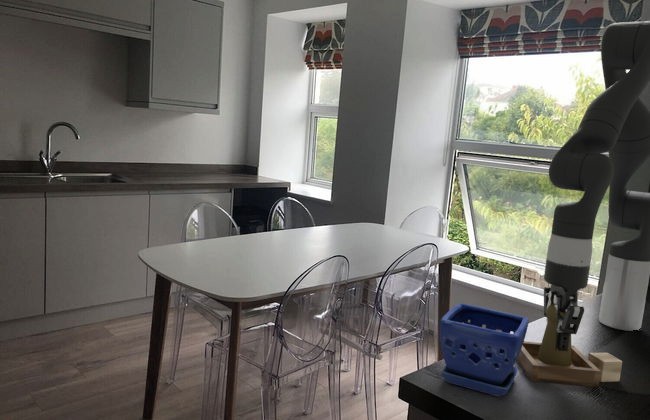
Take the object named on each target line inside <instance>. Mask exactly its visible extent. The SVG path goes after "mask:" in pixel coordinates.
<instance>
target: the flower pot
mask: <svg viewBox="0 0 650 420" xmlns="http://www.w3.org/2000/svg"><path fill="white" fill-rule="evenodd" d="M529 322H530V321H529V318H528V317H526V316H523V315H518V314H514V313H510V312H505V311H500V310H496V309H492V308H488V307H483V306H478V305H473V304H468V303H457V304H456V305H455V306H453V307H452V308H451V309H449V311H448V312H447V313H445V314H444V315H443V316H442V318H441V319H440V323H439V339H440V340H439V341H440V348H441V349H440V350H441V352H442V357H443V360H444V363H445V365H444V367H443V368H442V370H441V372H440V373H441V377H442V378H443V379H444V380H445V381H446V382H447V383H450V384H453V385H457V386H460V387H464V388H467V389H470V390H474V391H477V392H482V393H484V394H489V395H491V396H494V397H502V396H504V395H506V394H507V393H508V392H509V390H510V388H511V386H512V384H513V383H514V380H515V378H516V376H517V374H518V370H519V368H518V367H517V366H515V365H516V363H517V361H516V360H517V358H518V356H519V354H520V351H521V348H522V345H523V342H524V341H525V339H526V334H527V332H528V331H527V330H528V329H529V328H528V327H529ZM483 326H485V327H483ZM511 332H512V333H511Z"/></svg>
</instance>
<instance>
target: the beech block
mask: <svg viewBox="0 0 650 420" xmlns="http://www.w3.org/2000/svg"><path fill="white" fill-rule="evenodd" d="M587 359H588V360H589V361H590V362H591V363H593V364H594V365H595V366H596V367H597V368H598V369H599V370H600V371H601V374H600V380H599V383H600V382H602V383H605V382H620V380H621V373H622V368H623V367H622V365H623V361H622V360H621V359H620V358H617V357H616V356H614V355H612V354H610V353H609V352H588V358H587Z"/></svg>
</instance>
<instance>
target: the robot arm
mask: <svg viewBox="0 0 650 420" xmlns="http://www.w3.org/2000/svg"><path fill="white" fill-rule="evenodd" d="M600 57H601V66H602V73H603V80H604V88H605V89H604V91H602V92H601V93H599V94H598V95H597V96H596V97H595V98H594V99H593V100H592V101H591V103H590V104H589V105H588V107H587V109H586V110H585V112H584V114H583V117H582V118H581V121H580V123H579V126H578V128H577V130H576V131H575V132H574V133H573V134H572V135H571V136H570V138H569V139H568V140H567V141H566V142H565V143H564V144H563V145H562V146H561V148H560V149H558V150H557V152H556V153H555V154H554V156H553V158H552V159H551V162H550V164H549V167H548V177H549V181H550V182H551V184H552V185H553V187H555V188H556V189H557V188H558V189H561V190H562V189H563V190H568V191H576V192H583V195H582V197H581V198H580V199H579V200H578V201H575V202H562V203H559V204H557V205H556V206H555V209H554V211H553V217H552V218H553V219H552V227H551V234H550V238H549V241H548V245H547V253H546V259H545V268H544V272H543V274H544V275H543V280H544V281H545V282H546V283H547V284H548V285H550V286H544V288H543V317H545V318H546V323H547V322H548V319H547V317H546V310H547V307H548V306H549V305H551V304H555V310H556V319H557V320H558V323H557V336H556V349H557V348H558V350H561V351H566V352H567V350H568V344H569V337H570V334H571V335H577V333H578V331H579V328H580V325H581V321H582V319H583V316H584V313H585V307H584V306H579V305H578V303H579V299H578V291H579V290H583V289H585V288H587V287H588V283H589V275H590V269H591V263H592V262H591V261H592V256H593V255H592V254H593V236H594V230H595V224H596V218H597V216H598V212H599V209H600V207H601V204H602V202H603V199H604V196H605V195H606V193H607V191H608V213H607V214H608V220H609V222H610V224H611V225H612V226H614V227H617V228H621V229H626V230H627V229H628V230H634V231H639V234H638V236H636V237H634V238H632V239H629V240H619V241H615V242H614V241H613V242H612V243H611V244H610V246H609V252H608V258H607V265H606V271H605V272H606V273H605V278H604V282H603V287H602V295H601V302H600V308H599V315H598V319H599V320H598V321H599V323H601V324H603V325H604V326H606V327H609V328H611V329H612V328H613V329H616V330H622V331H627V332H628V331H629V332H634V331H633V330H638V331H640V330H641V329H642V323H643V317H644V313H645V306H646V299H647V298H646V297H647V294H648V293H647V292H648V286H649V282H650V281H649V280H650V192H644V191H643V192H642V191H634V190H628V188H627V185H628V183H629V181H630V180H631V179H632V177H633V176H634V174H635V173H636V172H637V171H639V169H641V167H642V166H643V165H644V164H645V163H646V162H647V161H648V160H649V158H650V109H649V108H648V107H647V105H646V104H645V102H644V101H643V100H642V99H641V98H640V96H641V94H642V93H643V92H644V91H645V88H646V87H647V86H648V84H649V82H650V20H644V21H629V22H628V21H625V22H614V23H611V24H609V25H608V26H607V27H606V28H605V29H604V32H603V34H602V37H601V44H600ZM627 70H628V72H627ZM605 153H608V155H607V154H605ZM608 189H609V190H608ZM560 311H561V312H562V313H566V314H565V317H564V318H563V316H561V315H560ZM562 321H563V323H562ZM640 328H641V329H640ZM639 329H640V330H639ZM556 349H555V350H556Z"/></svg>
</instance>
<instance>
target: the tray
mask: <svg viewBox="0 0 650 420" xmlns="http://www.w3.org/2000/svg"><path fill="white" fill-rule="evenodd" d="M541 343H542V342H534V341H526V340H524V342H523V345H522V348H521V351H520V354H519V356H518V358H517V361H518V362H519V363H518V362H517V361H516V362H517V363H518V365H519V364H520V365H521V366H520V365H519V366H520V368H521V367H522V368H523V369H522V368H521V369H522V371H525V372H524V373H525V374H526V375H528V376H527V377H528V379H529V378H530V379H529V380H530V382H537V381H538V382H539V383H549V384H560V385H561V384H562V385H570V386H571V385H572V386H582V387H583V386H585V387H593V388H594V387H595V388H599V386H600V381H599V380H600V374H601V371H600V370H599V369H598V368H597V367H596V366H595V365H594V364H593V363H591V362H590V361H589V360H588V358H587V357H586V356H585V355H584V354H583V353H582V352H581V351H580V350H579V349H578V348H577V347H576V346H575V345H571V366H559V365H548V364H545V363H542V362H541V361H539V359H538V353H539V350H540V346H541Z"/></svg>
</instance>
